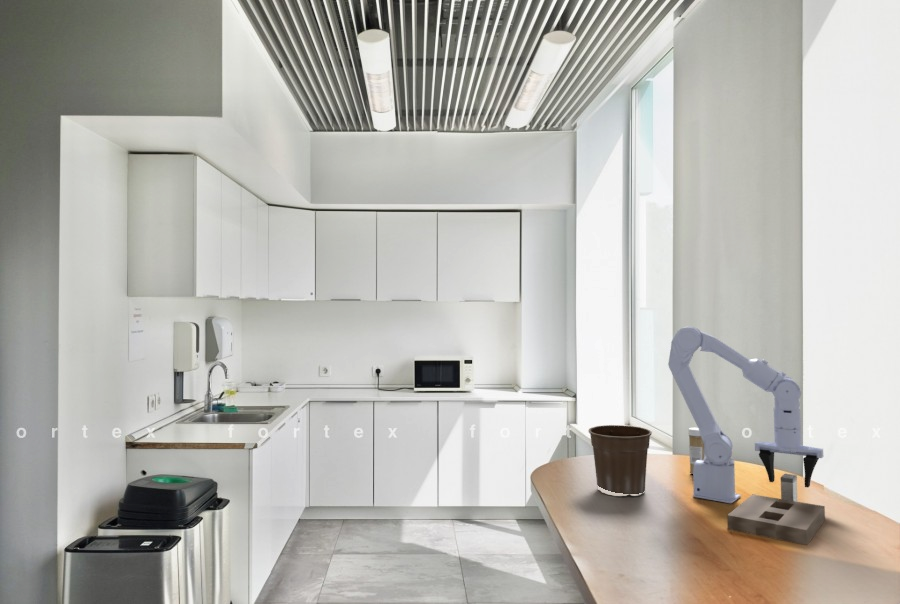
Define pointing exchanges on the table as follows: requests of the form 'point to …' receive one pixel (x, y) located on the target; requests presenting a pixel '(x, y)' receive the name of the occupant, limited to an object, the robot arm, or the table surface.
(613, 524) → the table surface
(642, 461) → the plant pot
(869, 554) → the table surface
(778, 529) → the post foot
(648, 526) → the table surface
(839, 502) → the table surface
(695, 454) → the sprinkles bottle
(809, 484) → the robot arm
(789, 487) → the brushed metal block
